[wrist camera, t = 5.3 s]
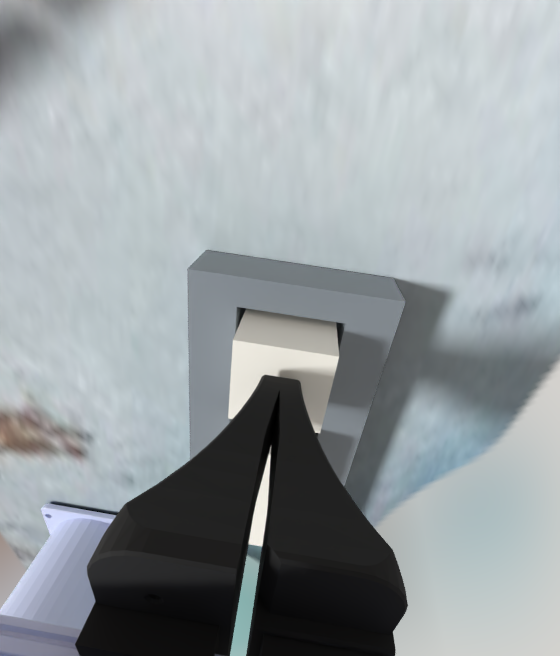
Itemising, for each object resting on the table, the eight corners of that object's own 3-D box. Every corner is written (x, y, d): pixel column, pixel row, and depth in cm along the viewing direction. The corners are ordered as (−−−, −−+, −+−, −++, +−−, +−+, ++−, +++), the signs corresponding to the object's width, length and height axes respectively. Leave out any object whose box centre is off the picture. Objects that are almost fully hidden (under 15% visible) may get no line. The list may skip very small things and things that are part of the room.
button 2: (320, 386, 17) (320, 433, 14) (242, 374, 17) (228, 418, 14) (335, 317, 15) (339, 356, 12) (248, 304, 15) (232, 340, 12)
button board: (320, 518, 24) (320, 556, 22) (202, 498, 24) (191, 534, 22) (393, 278, 15) (405, 302, 13) (206, 249, 15) (187, 268, 13)
